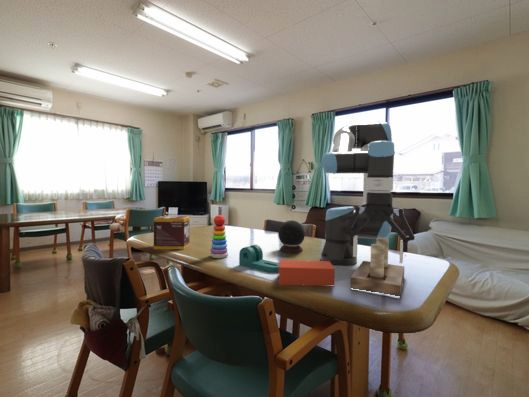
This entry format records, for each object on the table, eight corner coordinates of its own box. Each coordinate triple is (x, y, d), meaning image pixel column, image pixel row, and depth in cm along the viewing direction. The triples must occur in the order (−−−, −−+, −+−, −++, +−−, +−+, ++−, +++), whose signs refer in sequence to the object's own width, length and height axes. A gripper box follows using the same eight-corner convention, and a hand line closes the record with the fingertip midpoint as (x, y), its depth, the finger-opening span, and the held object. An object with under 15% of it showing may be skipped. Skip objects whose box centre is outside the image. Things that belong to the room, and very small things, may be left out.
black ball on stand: (279, 253, 131) (280, 222, 130) (276, 247, 144) (277, 218, 144) (307, 253, 132) (307, 222, 131) (302, 247, 145) (302, 218, 144)
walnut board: (350, 289, 87) (351, 245, 86) (363, 271, 106) (364, 234, 105) (399, 299, 80) (401, 251, 79) (404, 277, 99) (405, 238, 98)
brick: (279, 285, 91) (279, 267, 91) (279, 276, 100) (279, 259, 100) (334, 287, 90) (335, 268, 90) (329, 277, 99) (329, 261, 99)
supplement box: (184, 249, 137) (184, 218, 136) (153, 249, 137) (153, 218, 137) (190, 245, 148) (190, 216, 147) (161, 244, 148) (161, 215, 147)
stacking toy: (231, 257, 124) (231, 215, 123) (214, 259, 120) (214, 216, 119) (223, 253, 131) (223, 213, 130) (207, 255, 126) (207, 214, 125)
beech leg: (368, 289, 87) (369, 245, 86) (370, 285, 91) (371, 243, 90) (382, 292, 85) (384, 247, 84) (384, 288, 89) (385, 244, 88)
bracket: (239, 265, 112) (239, 246, 112) (249, 261, 118) (250, 243, 117) (275, 274, 101) (276, 253, 101) (285, 270, 107) (286, 249, 106)
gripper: (336, 191, 89) (334, 256, 91) (426, 193, 77) (422, 268, 78) (342, 190, 96) (340, 251, 97) (425, 192, 83) (422, 261, 85)
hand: (377, 259), depth 88 cm, fingers open, 13 cm apart
